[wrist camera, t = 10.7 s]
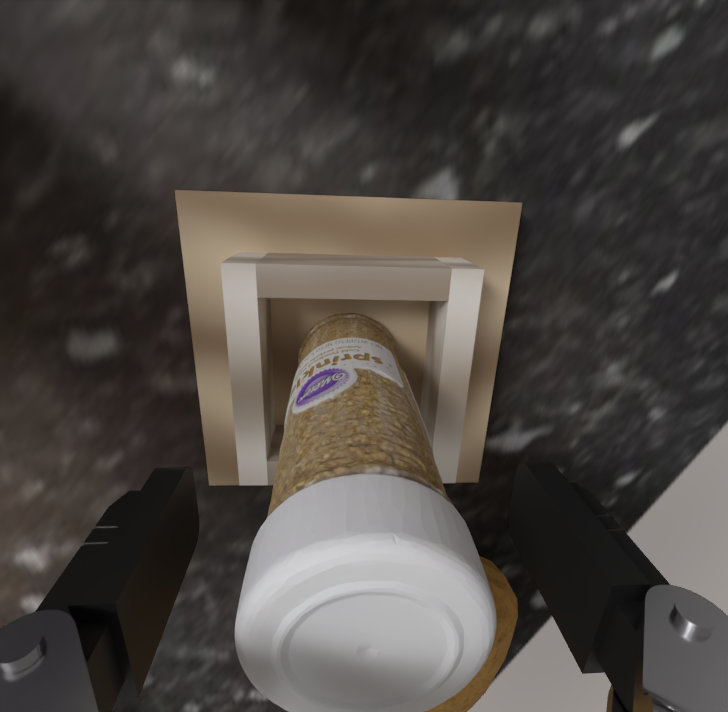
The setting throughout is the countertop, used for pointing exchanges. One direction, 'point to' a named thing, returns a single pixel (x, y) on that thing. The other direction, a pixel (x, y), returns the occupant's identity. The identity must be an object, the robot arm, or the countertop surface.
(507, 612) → the potato
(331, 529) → the sprinkles bottle
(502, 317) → the spice stand
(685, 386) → the countertop surface
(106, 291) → the countertop surface
